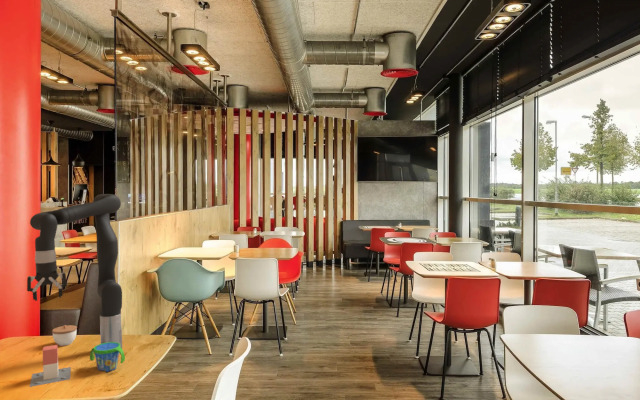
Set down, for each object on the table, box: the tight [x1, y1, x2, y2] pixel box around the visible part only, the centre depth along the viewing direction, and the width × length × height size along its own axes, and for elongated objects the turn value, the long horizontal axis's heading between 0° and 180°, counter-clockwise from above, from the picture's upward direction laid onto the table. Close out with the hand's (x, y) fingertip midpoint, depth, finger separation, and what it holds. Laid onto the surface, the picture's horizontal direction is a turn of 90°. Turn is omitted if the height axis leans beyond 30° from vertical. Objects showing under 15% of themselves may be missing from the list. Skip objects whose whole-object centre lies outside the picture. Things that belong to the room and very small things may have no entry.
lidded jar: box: [52, 324, 78, 347], centre depth 226 cm, size 11×11×9 cm
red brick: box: [42, 344, 59, 366], centre depth 184 cm, size 5×5×6 cm
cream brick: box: [42, 361, 59, 380], centre depth 185 cm, size 5×5×6 cm
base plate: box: [29, 366, 72, 388], centre depth 185 cm, size 14×14×1 cm
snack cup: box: [89, 342, 126, 373], centre depth 194 cm, size 16×10×10 cm
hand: (48, 298), depth 189 cm, fingers open, 8 cm apart
